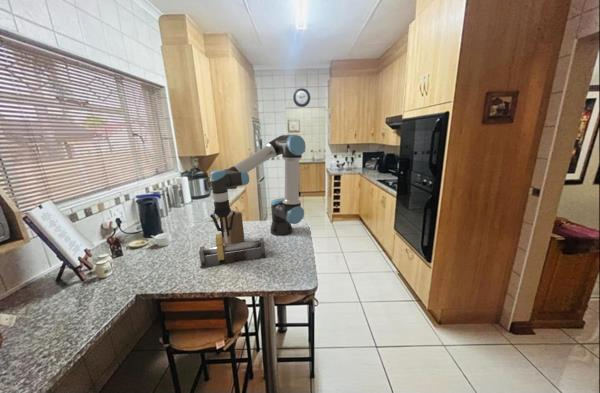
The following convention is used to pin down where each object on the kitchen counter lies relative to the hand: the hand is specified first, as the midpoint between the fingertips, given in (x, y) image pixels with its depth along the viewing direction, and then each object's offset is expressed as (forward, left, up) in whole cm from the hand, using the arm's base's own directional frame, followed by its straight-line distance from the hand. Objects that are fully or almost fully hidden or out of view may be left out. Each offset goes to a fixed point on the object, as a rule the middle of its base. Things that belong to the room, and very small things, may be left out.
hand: (226, 242), depth 134 cm
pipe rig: (-3, 0, -10) cm, 10 cm away
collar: (+4, 0, -8) cm, 9 cm away
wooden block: (-3, -20, -10) cm, 23 cm away
